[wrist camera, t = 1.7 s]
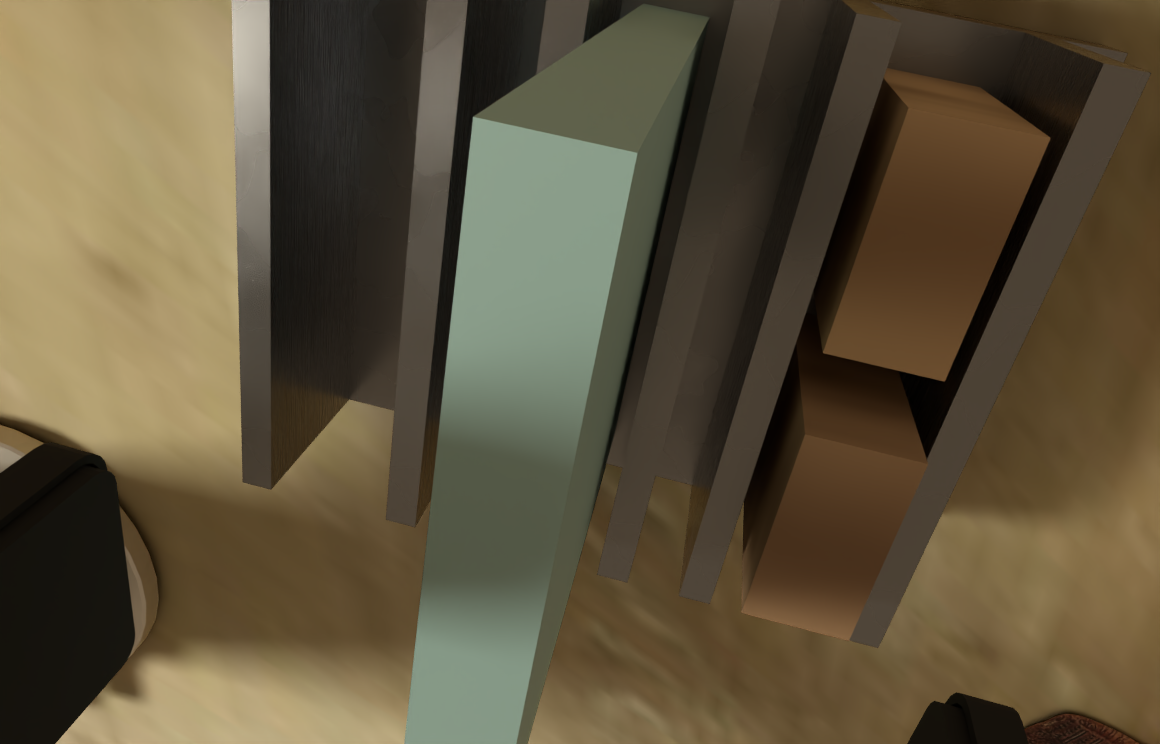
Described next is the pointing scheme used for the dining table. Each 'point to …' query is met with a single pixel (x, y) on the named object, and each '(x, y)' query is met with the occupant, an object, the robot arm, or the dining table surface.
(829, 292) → the short walnut offcut
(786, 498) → the tall walnut offcut
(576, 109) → the teal sheet
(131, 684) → the dining table surface
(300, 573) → the dining table surface
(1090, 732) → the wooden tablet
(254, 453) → the rack
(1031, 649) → the dining table surface
